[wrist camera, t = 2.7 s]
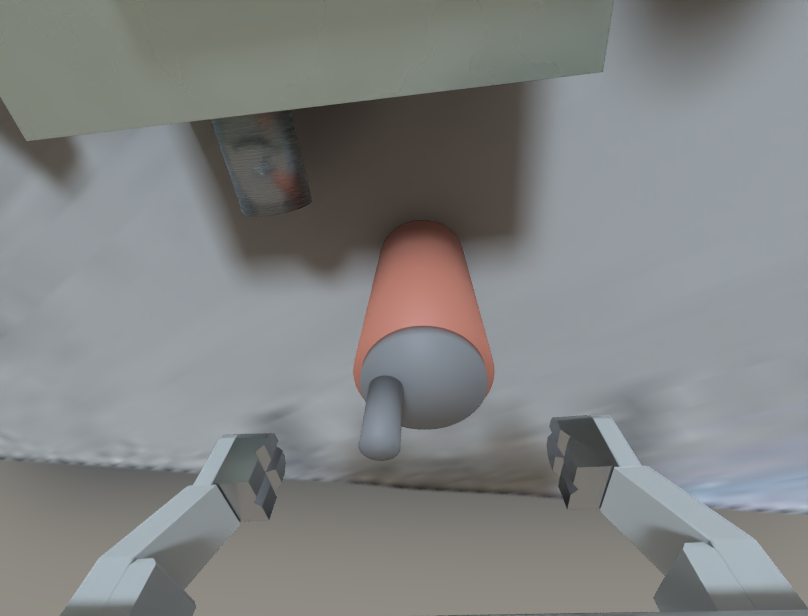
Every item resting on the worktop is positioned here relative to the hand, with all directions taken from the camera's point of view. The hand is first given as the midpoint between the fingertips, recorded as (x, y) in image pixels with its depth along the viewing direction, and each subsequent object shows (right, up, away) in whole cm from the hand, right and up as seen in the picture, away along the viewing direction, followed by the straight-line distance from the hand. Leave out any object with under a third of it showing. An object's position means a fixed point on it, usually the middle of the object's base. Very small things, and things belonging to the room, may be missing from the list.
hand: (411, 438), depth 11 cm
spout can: (+1, +7, +11) cm, 13 cm away
